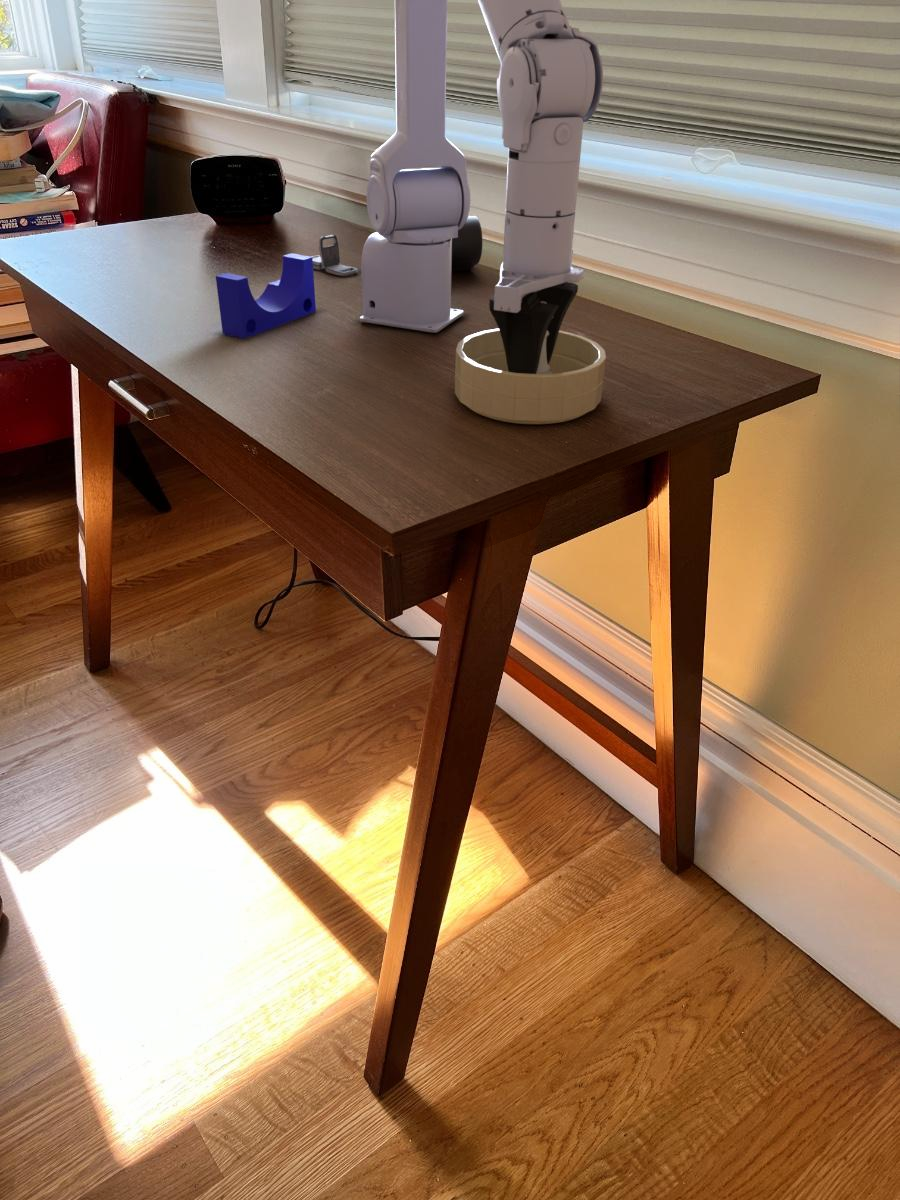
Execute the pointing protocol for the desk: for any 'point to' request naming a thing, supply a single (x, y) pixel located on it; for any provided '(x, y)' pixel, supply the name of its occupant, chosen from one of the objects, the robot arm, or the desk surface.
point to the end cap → (467, 245)
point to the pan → (529, 380)
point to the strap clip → (331, 259)
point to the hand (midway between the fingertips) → (529, 372)
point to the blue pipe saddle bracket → (267, 299)
